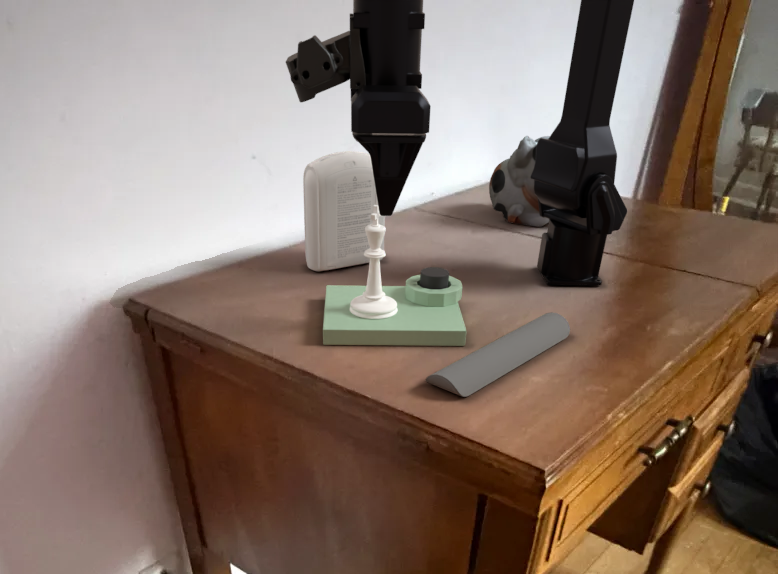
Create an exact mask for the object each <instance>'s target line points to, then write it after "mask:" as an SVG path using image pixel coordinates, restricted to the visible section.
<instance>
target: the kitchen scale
mask: <svg viewBox="0 0 778 574" xmlns="http://www.w3.org/2000/svg"><path fill="white" fill-rule="evenodd" d="M366 286H367V285H345V284H344V285H341V284H340V285H337V284H336V285H335V284H334V285H332V284H328V285H326V286H325V297H324V298H325V299H324V310H323V322H322V323H323V325H322V343H323V345H324V346H414V347H415V346H420V347H421V346H429V347H465V346H466V341H467V328H466V324H465V322H464V321H465V320H464V318H463V314H462V311H461V308H460V305H459V301H461V300H462V296H463V284H462V281H461V280H459V279H457V278H456V277H454V276H451V275H449V281H448V288H445V289H427V288H423V287H421V286H420V274H417V275H412V276H410V277H408V278H407V279H406V280H405V285H382V291H383V292H384V293H385V296H388V297H391V298H393V299H394V300H395V301H396V302H397V309H398V311H397V313H396V314H395V315H393V316H391V317H388V318H384V319H366V318H361V317H358V316H355V315H354V314H352V313H351V312H350V303H351V301H352V300H353V299H354V298H355V297H358V296H361V295H363V292H365V291H366Z"/></svg>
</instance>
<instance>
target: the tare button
mask: <svg viewBox="0 0 778 574" xmlns="http://www.w3.org/2000/svg"><path fill="white" fill-rule="evenodd" d="M419 275H420V286H421V287H423V288H427V289H445V288H448V281H449V276H450V271H449V270H448V269H446V268H443V267H439V266H429V267H424V268H422V269H421V270H420V273H419Z"/></svg>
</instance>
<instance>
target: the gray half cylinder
mask: <svg viewBox="0 0 778 574" xmlns="http://www.w3.org/2000/svg"><path fill="white" fill-rule="evenodd" d="M570 333H571V327H570V323H569V322H568V320H567V319H566V318H565V316H563V315H562V314H560V313H558V312H553V311H552V312H546V313H544V314H541V315H540V316H538V317H536V318H534V319H533V320H531V321H529V322H527V323H525V324H523V325H521V326H519V327H517V328H516V329H513V330H512V331H510V332H508V333H506V334H504V335H502V336H501V337H499V338H497V339H495V340H493V341H491V342H490V343H488V344H486V345H484V346H482V347H480V348H478V349H477V350H474V351H472V352H471V353H469V354H467V355H465V356H463V357H462V358H460V359H458V360H456V361H454V362H453V363H451V364H448V365H447V366H445V367H443V368H441V369H439V370H437V371H435V372H434V373H431V374H429V375H428V376H427V377H426V378H425V379H424V380H425V382H426V383H428V384H430V385H432V386H435V387H437V388H440V389H442V390H445V391H448V392H450V393H452V394H455V395H457V396H460V397H464V398H465V397H469V396H471V395H472V394H474V393H476V392H477V391H479V390H481V389H482V388H484V387H486V386H488V385H489V384H492V383H493V382H494V381H496V380H497V379H499V378H501V377H503V376H504V375H506V374H508V373H509V372H511V371H513V370H514V369H517V368H518V367H520V366H521V365H523V364H525V363H526V362H528V361H530V360H531V359H533V358H535V357H537V356H538V355H540V354H542V353H543V352H545V351H547V350H548V349H550V348H552V347H553V346H555V345H557V344H559V343H560V342H562V341H564V340H566V339H567V338H568V336H569V335H570Z"/></svg>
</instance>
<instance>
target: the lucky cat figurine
mask: <svg viewBox="0 0 778 574" xmlns="http://www.w3.org/2000/svg"><path fill="white" fill-rule="evenodd" d="M550 136H551V135H544V136H540V137H538V138H536V139H533V138H532V137H530V136H529V135H525V136H524V137H523V138H522V139H521V140H520V141H519V143H518V146H517V148H516V149H515V150H514V151H513V152H512V153H511V154H510V156H509V158H506V159H505V160H503V161H501V162H500V163H498V164H497V165H496V167H494V170H493V172H492V174H491V177H490V180H489V184H488V193H489V199H490V201H491V206H492V208H493V210H495V212H500V213H501V214H502V216H503V219H504V221H506V222H507V223H510V224H514V225H521V226H529V227H537V228H541V227H543V226H545V225H546V224H549V219H548V218H546V217H544V218H543V217H541V216H540V215H539V206H538V197H537V196H536V195H535V193H534V180H533V179H531V178H530V177H531V174H532V172H533V169H534V165H535V160H536V145H537V143H538V140H539V139H540V138H545V139H549V137H550Z"/></svg>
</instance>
